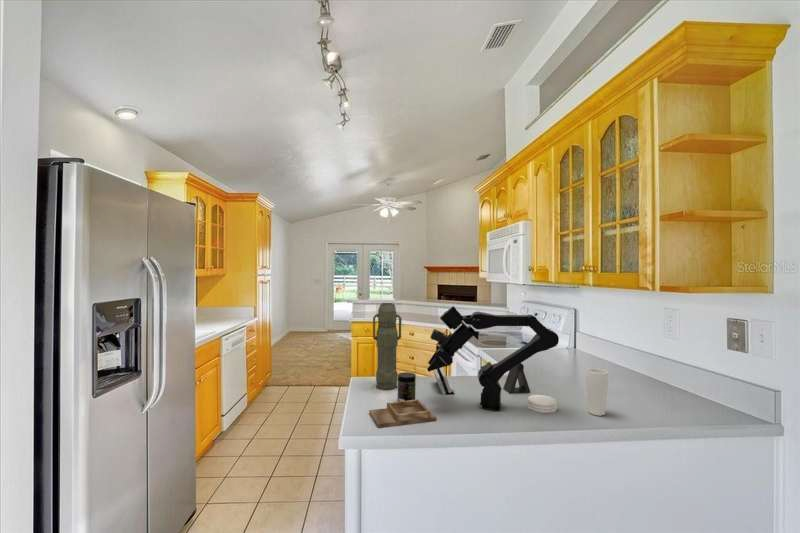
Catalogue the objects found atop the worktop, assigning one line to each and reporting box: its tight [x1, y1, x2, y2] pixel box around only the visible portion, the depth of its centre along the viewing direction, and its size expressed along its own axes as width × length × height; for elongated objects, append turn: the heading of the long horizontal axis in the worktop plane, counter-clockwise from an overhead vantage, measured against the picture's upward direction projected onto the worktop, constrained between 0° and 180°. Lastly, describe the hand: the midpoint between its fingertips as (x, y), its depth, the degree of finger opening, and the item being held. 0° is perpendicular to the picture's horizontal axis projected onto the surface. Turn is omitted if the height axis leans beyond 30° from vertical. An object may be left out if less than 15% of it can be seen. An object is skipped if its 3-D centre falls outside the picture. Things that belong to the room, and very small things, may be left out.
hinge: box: [432, 367, 456, 396], centre depth 162 cm, size 17×5×10 cm, turn 3°
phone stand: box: [503, 363, 531, 395], centre depth 159 cm, size 9×6×12 cm, turn 99°
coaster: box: [526, 394, 558, 414], centre depth 140 cm, size 10×10×4 cm
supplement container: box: [397, 371, 417, 402], centre depth 144 cm, size 7×7×10 cm
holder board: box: [368, 399, 438, 429], centre depth 131 cm, size 20×12×3 cm, turn 108°
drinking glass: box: [586, 367, 609, 417], centre depth 135 cm, size 7×7×15 cm
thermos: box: [372, 302, 403, 391], centre depth 162 cm, size 9×12×35 cm
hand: (428, 367), depth 143 cm, fingers open, 9 cm apart
